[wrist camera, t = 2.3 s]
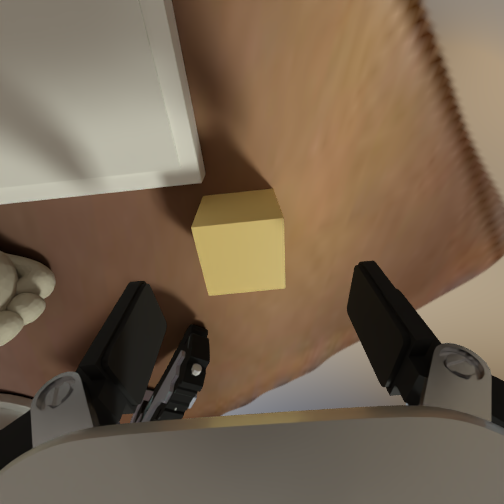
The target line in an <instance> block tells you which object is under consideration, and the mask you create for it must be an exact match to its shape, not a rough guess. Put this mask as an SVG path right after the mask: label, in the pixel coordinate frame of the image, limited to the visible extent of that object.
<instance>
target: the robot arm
mask: <svg viewBox="0 0 504 504" xmlns="http://www.w3.org/2000/svg"><path fill="white" fill-rule="evenodd" d="M347 312H348V315H349V318H350V320H351V322H352V324H353V326H354V328H355V331H356V333H357V335H358V337H359V339H360V341H361V343H362V346H363V348H364V350H365V352H366V354H367V357H368V359H369V361H370V363H371V365H372V367H373V369H374V372H375V374H376V376H377V378H378V380H379V382H380V384H381V386H382V387H386V388H387V391H388V393H389V395H390V396H391V395H401V396H402V398H403V400H404V402H406V405H404V406H403V405H399V406H377V407H355V408H338V409H322V410H306V411H291V412H277V413H276V412H275V413H261V414H246V415H231V416H217V417H203V418H189V419H176V420H162V421H148V422H138V423H127V424H120V422H119V421H120V419H121V416H122V414H132V413H135V411H136V408H137V406H138V405H139V404H141V402H142V400H143V398H144V395H145V392H146V389H147V386H148V383H149V380H150V377H151V374H152V371H153V368H154V365H155V362H156V359H157V356H158V353H159V350H160V347H161V344H162V341H163V338H164V335H165V332H166V328H167V324H166V321H165V318H164V316H163V314H162V312H161V309H160V307H159V305H158V303H157V300H156V298H155V296H154V294H153V291H152V289H151V287H150V285H149V284H146V282H144V281H136V282H130V283H129V284H128V285H127V287H126V289H125V290H124V292H123V294H122V295H121V297H120V299H119V300H118V302H117V304H116V305H115V307H114V308H113V310H112V312H111V313H110V315H109V317H108V318H107V320H106V322H105V323H104V325H103V326H102V328H101V330H100V331H99V333H98V335H97V336H96V338H95V340H94V341H93V343H92V345H91V346H90V348H89V349H88V351H87V353H86V354H85V356H84V358H83V359H82V361H81V363H80V364H79V367H78V369H77V370H76V372H65V373H62V374H60V375H58V376H56V377H54V378H52V379H51V380H49V381H48V382H47V383H46V384H45V385H43V386H42V387H41V388H40V389H39V391H38V392H37V393H36V395H35V396H34V398H33V399H29V398H25V397H22V396H16V395H11V394H3V393H0V504H504V381H503V380H500V379H499V378H497V377H494V376H492V375H491V372H490V369H489V367H488V366H487V364H486V362H485V361H484V360H483V359H482V358H481V357H479V356H478V355H477V354H476V353H474V352H473V351H471V350H469V349H467V348H465V347H463V346H460V345H457V344H451V343H445V344H441V343H440V341H439V340H438V339H437V338H436V336H435V335H434V334H433V332H432V331H431V330H430V328H429V327H428V326H427V325H426V323H425V322H424V321H423V319H422V318H421V317H420V316H419V315H418V313H417V312H416V310H415V309H414V308H413V307H412V305H411V304H410V303H409V302H408V300H407V299H406V298H405V296H404V295H403V294H402V293H401V292H400V291H399V290H398V289H396V288H395V287H394V286H393V284H392V283H391V282H390V280H389V279H388V278H387V277H386V275H385V274H384V273H383V271H382V270H381V269H380V267H379V266H378V265H377V263H376V262H375V261H364V262H359V264H358V265H356V266H355V268H354V273H353V278H352V283H351V289H350V294H349V299H348V305H347Z"/></svg>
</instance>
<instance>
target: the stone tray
mask: <svg viewBox="0 0 504 504" xmlns="http://www.w3.org/2000/svg"><path fill="white" fill-rule="evenodd" d="M205 174H206V173H205V168H204V163H203V158H202V153H201V148H200V143H199V137H198V132H197V127H196V122H195V117H194V112H193V107H192V102H191V97H190V92H189V87H188V82H187V76H186V71H185V66H184V61H183V56H182V51H181V46H180V41H179V36H178V31H177V26H176V20H175V15H174V10H173V5H172V0H0V204H8V203H18V202H27V201H36V200H46V199H55V198H65V197H74V196H83V195H93V194H102V193H112V192H121V191H130V190H140V189H149V188H159V187H168V186H177V185H187V184H196V183H202V181H203V179H204V177H205Z"/></svg>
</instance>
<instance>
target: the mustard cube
mask: <svg viewBox="0 0 504 504" xmlns="http://www.w3.org/2000/svg"><path fill="white" fill-rule="evenodd" d="M191 229H192V233H193V237H194V241H195V244H196V248H197V252H198V256H199V260H200V264H201V267H202V271H203V275H204V279H205V283H206V287H207V290H208V294H209V296H211V295H222V294H232V293H242V292H252V291H262V290H272V289H282V288H285V251H284V217H283V214H282V212H281V209H280V206H279V204H278V201H277V198H276V195H275V193H274V190H273V189H264V190H255V191H245V192H236V193H226V194H217V195H207V196H203V197H202V200H201V203H200V205H199V208H198V211H197V213H196V216H195V219H194V221H193V224H192V226H191Z"/></svg>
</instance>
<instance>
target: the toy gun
mask: <svg viewBox="0 0 504 504" xmlns="http://www.w3.org/2000/svg"><path fill="white" fill-rule="evenodd" d="M207 335H208V330H207V329H204V328H201V327H198V326H195V325H192V324H191V325H190V326H189V328H188V329H187V331H186V332H185V334H184V337H183V339H182V340H181V342H180V343H179V346H178V348H177V350H176V351H175V353H174V355H173V357H172V359H171V361H170V363H169V365H168V366H167V369H166V370H165V372H164V374H163V376H162V378H161V379H160V381H159V383H158V384H157V385H156V387H155V389H154V390H151V389H146V392H145V395H144V398H143V400H142V402H141V404H139V405H138V406H137V408H136V411H135V413H134V414H133V416H132V419H131V422H130V423H138V422H148V421H162V420H176V419H182V417H183V416H184V412H185V410H187V409H188V408H189V409H190V408H191V406H192V405H193V403H194V401H195V400H196V398H197V391H199V392H200V391H201V389H202V387H203V383H204V379H205V374H206V367H207V366H208V364H209V362H210V352H209V338H207Z"/></svg>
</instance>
